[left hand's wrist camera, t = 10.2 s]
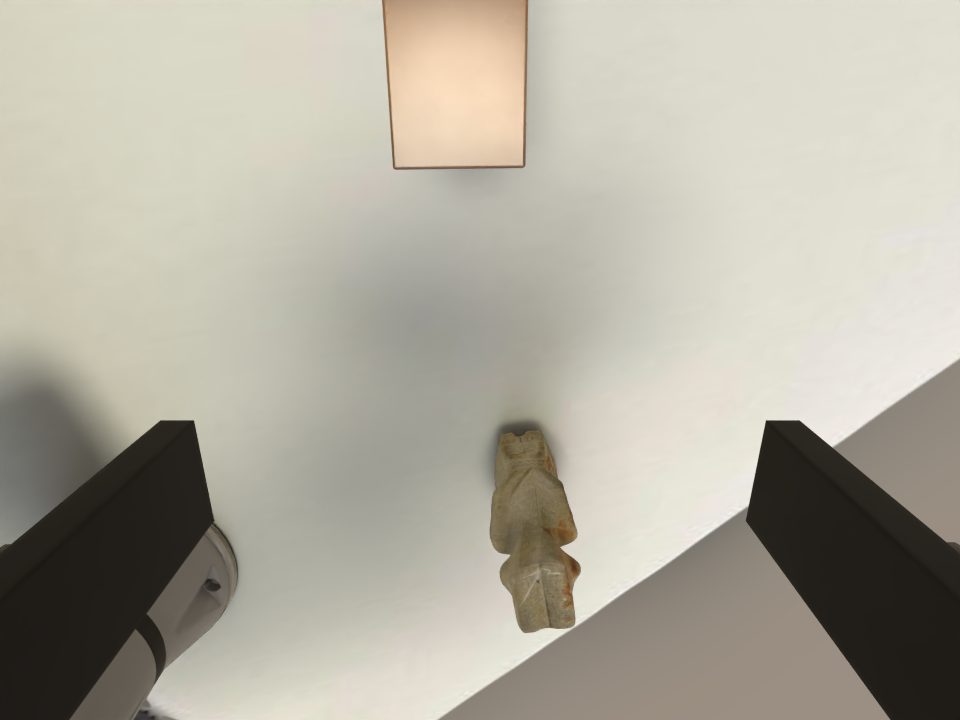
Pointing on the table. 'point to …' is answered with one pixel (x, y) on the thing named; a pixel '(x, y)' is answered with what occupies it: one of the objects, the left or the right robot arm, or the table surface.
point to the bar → (456, 82)
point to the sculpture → (533, 533)
